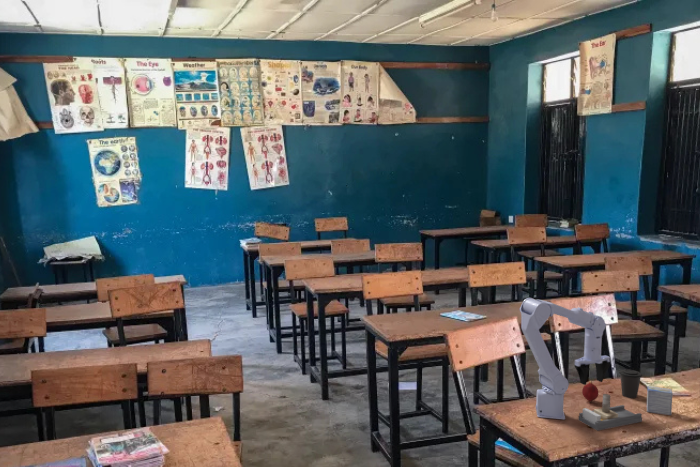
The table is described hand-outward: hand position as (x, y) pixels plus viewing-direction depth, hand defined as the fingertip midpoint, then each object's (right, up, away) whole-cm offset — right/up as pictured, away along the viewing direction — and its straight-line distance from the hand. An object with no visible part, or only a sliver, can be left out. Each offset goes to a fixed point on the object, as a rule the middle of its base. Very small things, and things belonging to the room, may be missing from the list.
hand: (591, 382), depth 210 cm
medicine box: (+24, -11, -1) cm, 27 cm away
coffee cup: (+21, -9, +14) cm, 27 cm away
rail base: (+3, -11, -9) cm, 15 cm away
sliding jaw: (+1, -10, -10) cm, 14 cm away
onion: (+3, -10, +9) cm, 13 cm away
